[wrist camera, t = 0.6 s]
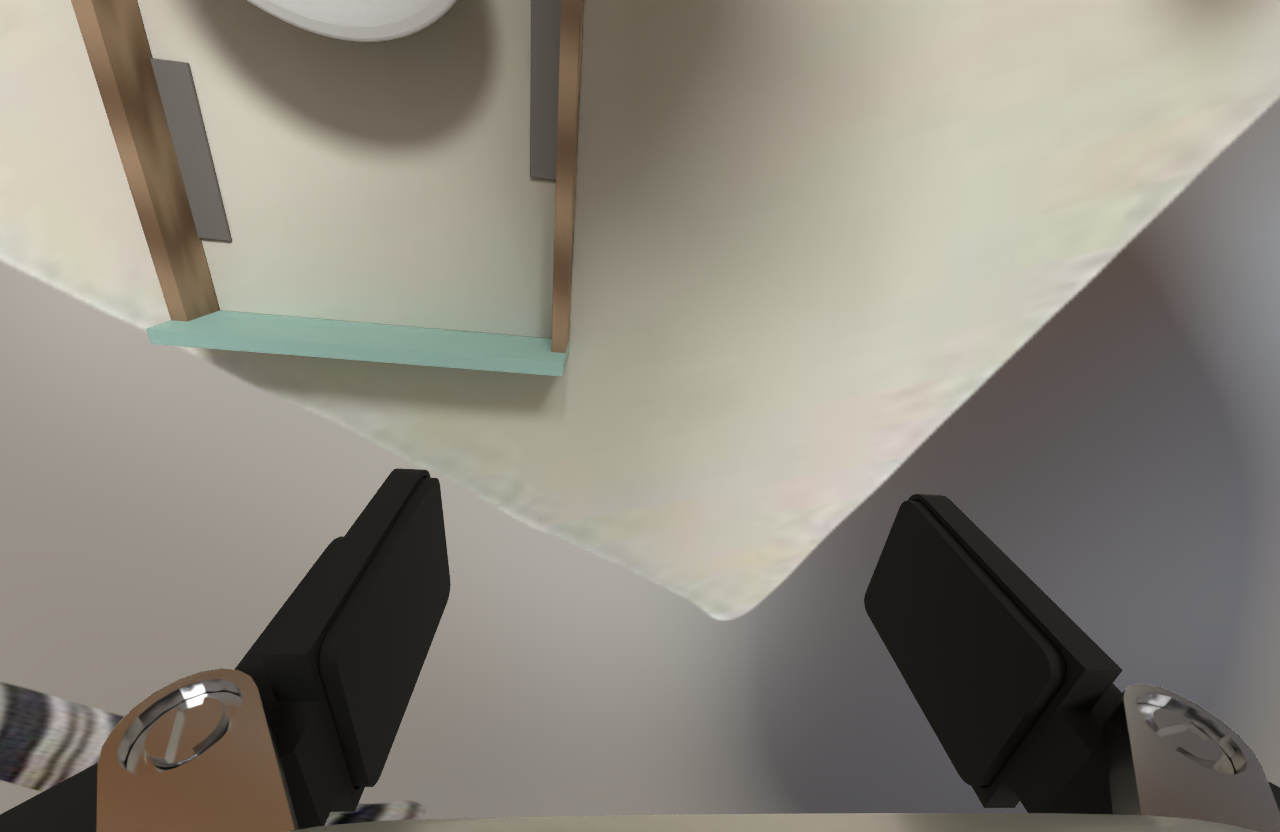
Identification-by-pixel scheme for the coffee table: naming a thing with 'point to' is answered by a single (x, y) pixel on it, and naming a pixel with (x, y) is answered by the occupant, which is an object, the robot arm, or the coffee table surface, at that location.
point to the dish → (358, 16)
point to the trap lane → (193, 209)
